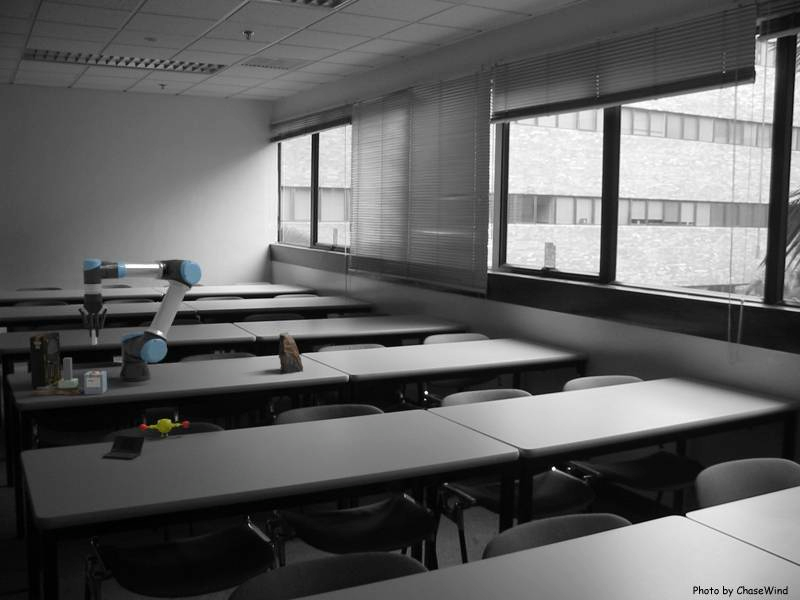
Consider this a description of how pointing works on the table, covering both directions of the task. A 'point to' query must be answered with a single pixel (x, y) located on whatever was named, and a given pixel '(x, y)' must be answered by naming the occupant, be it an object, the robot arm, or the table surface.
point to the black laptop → (126, 448)
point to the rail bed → (56, 390)
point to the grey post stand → (67, 375)
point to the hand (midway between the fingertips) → (94, 344)
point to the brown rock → (289, 355)
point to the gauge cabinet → (95, 382)
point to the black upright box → (45, 359)
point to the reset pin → (95, 373)
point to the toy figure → (164, 426)
